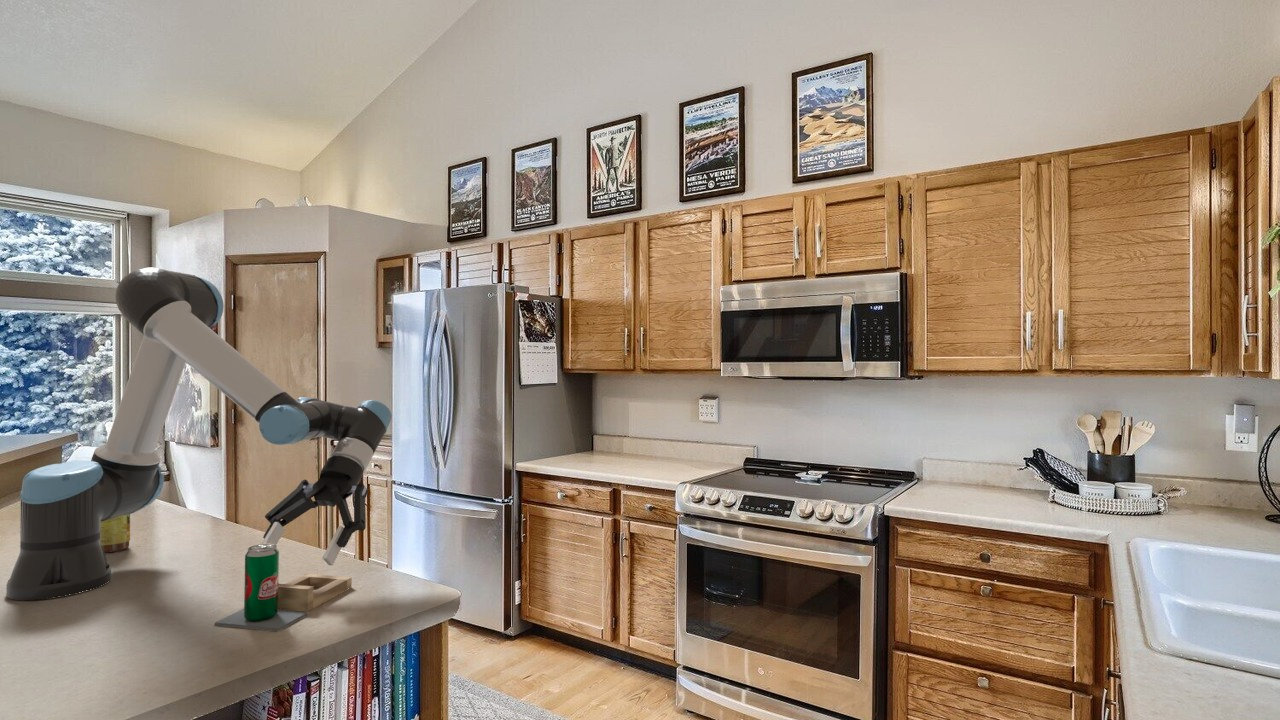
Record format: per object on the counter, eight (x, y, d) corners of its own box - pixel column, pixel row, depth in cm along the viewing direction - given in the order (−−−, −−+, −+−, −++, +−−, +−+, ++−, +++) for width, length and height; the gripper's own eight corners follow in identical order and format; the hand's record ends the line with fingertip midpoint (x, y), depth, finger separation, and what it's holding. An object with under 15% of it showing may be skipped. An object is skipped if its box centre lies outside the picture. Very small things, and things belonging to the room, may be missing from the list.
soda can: (262, 624, 110) (263, 552, 110) (236, 621, 111) (237, 550, 111) (284, 613, 115) (286, 544, 115) (259, 610, 116) (261, 542, 116)
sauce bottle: (134, 549, 153) (136, 463, 153) (101, 555, 148) (103, 467, 148) (122, 544, 156) (124, 461, 157) (90, 550, 151) (92, 464, 151)
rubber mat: (214, 625, 110) (214, 622, 110) (246, 610, 117) (246, 607, 117) (278, 631, 108) (278, 628, 108) (307, 615, 115) (307, 612, 115)
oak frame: (257, 607, 118) (257, 585, 118) (305, 583, 131) (306, 563, 131) (307, 611, 117) (308, 589, 117) (351, 587, 129) (351, 567, 129)
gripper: (284, 451, 135) (223, 544, 120) (395, 456, 131) (346, 553, 116) (301, 473, 140) (245, 564, 125) (408, 478, 136) (364, 574, 121)
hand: (294, 559), depth 121 cm, fingers open, 13 cm apart
